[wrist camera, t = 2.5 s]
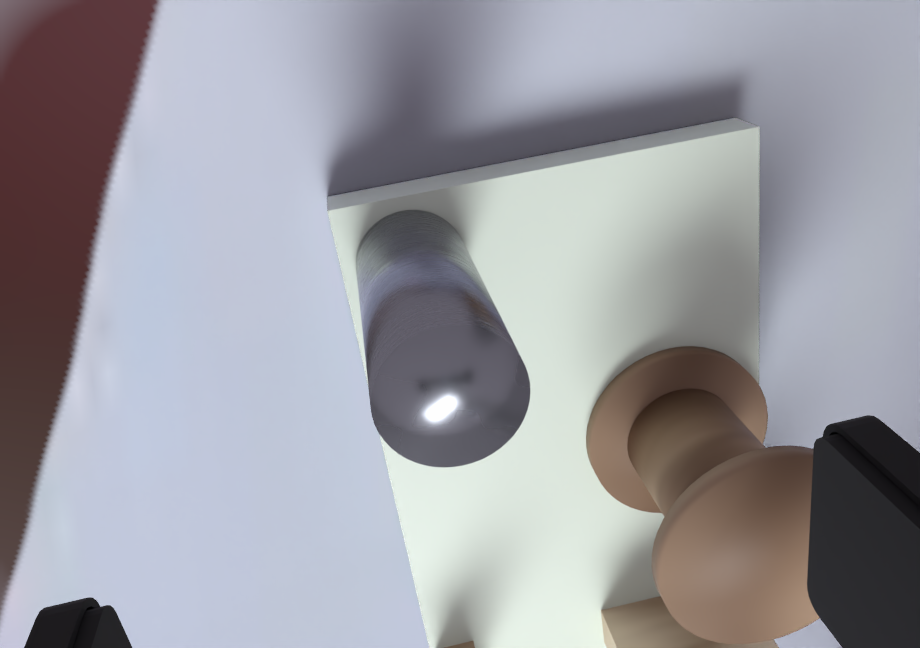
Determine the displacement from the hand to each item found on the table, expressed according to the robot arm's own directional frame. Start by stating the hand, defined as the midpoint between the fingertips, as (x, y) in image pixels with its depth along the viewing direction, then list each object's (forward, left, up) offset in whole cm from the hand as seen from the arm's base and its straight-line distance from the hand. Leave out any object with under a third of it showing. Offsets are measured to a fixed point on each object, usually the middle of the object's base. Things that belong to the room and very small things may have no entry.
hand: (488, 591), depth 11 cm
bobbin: (-8, +8, -14) cm, 18 cm away
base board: (-5, +8, -15) cm, 18 cm away
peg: (0, 0, -14) cm, 14 cm away
